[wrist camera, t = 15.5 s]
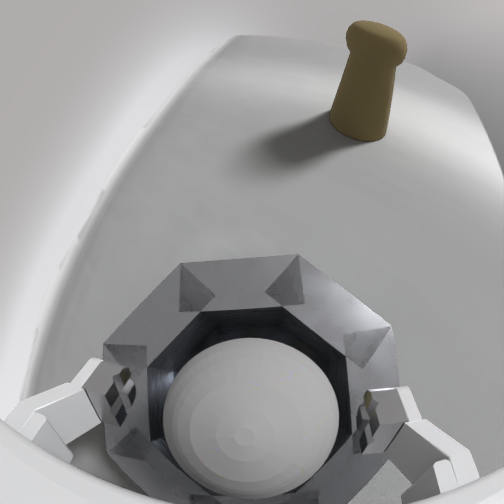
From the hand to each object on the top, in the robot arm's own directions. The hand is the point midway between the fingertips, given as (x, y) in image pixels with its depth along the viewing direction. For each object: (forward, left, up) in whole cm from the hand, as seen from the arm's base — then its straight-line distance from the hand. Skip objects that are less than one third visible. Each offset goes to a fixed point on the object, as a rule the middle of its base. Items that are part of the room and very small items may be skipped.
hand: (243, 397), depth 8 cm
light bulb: (-1, 0, -7) cm, 7 cm away
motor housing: (-1, 0, -7) cm, 8 cm away
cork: (+22, -12, -8) cm, 26 cm away
